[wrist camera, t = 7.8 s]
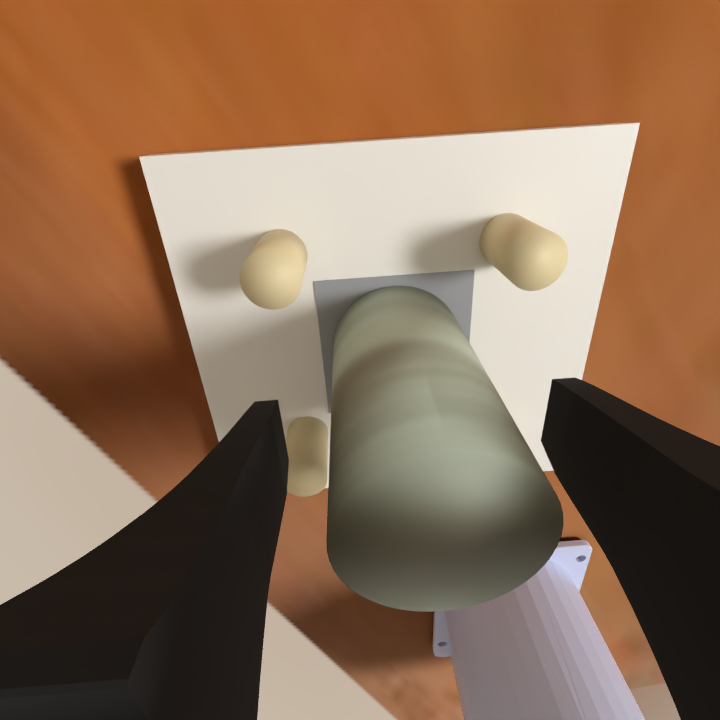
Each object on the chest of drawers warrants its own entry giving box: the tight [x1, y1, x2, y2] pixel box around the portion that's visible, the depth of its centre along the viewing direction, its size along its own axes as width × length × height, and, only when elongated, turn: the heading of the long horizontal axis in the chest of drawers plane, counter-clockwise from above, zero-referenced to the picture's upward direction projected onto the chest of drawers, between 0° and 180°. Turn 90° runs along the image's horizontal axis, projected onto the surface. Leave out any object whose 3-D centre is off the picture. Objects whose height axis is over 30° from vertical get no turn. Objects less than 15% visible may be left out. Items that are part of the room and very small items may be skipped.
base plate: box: [139, 123, 640, 497], centre depth 15 cm, size 13×14×4 cm
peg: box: [327, 286, 563, 612], centre depth 11 cm, size 4×4×8 cm
